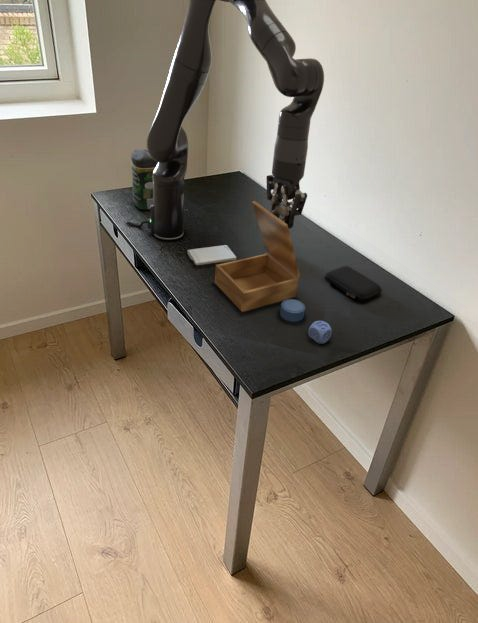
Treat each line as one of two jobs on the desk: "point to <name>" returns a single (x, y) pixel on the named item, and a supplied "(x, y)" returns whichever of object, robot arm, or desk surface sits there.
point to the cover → (277, 236)
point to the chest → (255, 281)
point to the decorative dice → (320, 331)
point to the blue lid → (292, 310)
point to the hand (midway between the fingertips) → (281, 223)
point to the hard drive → (211, 255)
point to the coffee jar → (142, 178)
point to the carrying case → (353, 283)
